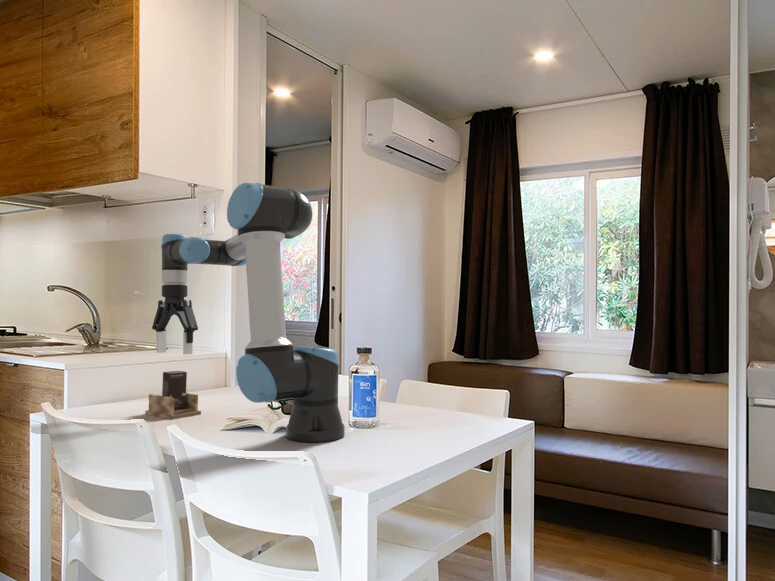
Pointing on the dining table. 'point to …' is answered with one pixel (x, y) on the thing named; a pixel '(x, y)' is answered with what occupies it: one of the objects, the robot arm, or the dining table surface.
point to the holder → (172, 407)
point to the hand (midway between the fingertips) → (174, 353)
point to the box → (175, 388)
